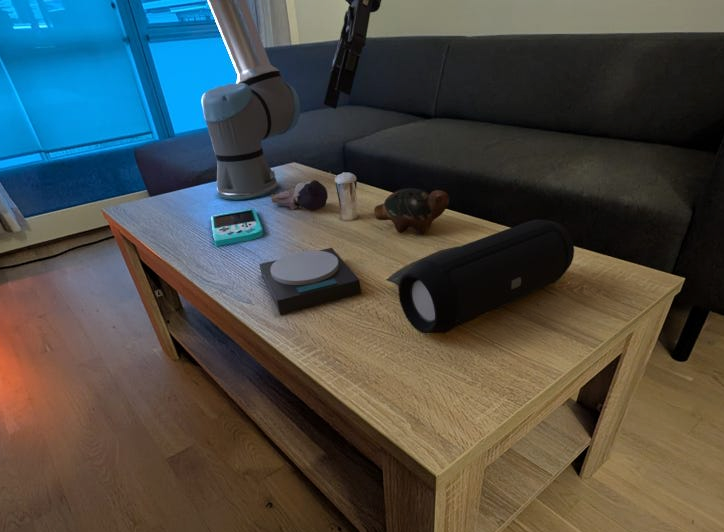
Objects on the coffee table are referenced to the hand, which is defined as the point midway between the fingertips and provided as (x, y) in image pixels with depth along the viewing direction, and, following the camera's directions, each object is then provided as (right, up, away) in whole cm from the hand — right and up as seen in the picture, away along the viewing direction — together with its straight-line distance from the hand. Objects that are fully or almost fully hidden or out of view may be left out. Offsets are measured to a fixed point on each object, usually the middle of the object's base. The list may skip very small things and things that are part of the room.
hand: (335, 99), depth 88 cm
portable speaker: (+25, -44, -23) cm, 55 cm away
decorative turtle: (+15, -25, +2) cm, 29 cm away
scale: (-3, -39, -15) cm, 42 cm away
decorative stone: (+18, -39, -16) cm, 46 cm away
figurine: (-10, -17, +15) cm, 25 cm away
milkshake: (+2, -21, +9) cm, 23 cm away
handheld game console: (-22, -24, +8) cm, 33 cm away
